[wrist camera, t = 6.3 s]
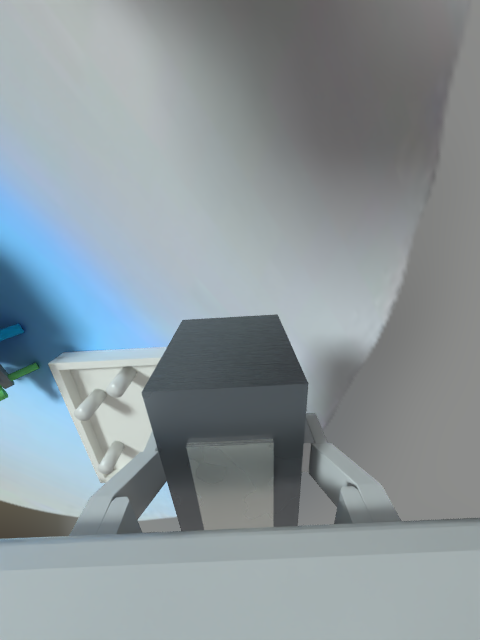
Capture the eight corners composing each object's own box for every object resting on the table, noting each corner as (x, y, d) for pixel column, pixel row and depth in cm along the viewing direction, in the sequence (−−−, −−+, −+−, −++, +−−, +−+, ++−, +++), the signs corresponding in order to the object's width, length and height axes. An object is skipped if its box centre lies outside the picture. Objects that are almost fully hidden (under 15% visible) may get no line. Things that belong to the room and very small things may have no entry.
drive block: (182, 320, 11) (139, 396, 6) (277, 314, 11) (309, 387, 6) (206, 461, 15) (192, 575, 10) (276, 458, 15) (295, 571, 10)
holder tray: (63, 352, 24) (32, 374, 21) (193, 345, 24) (184, 366, 20) (109, 466, 31) (92, 498, 27) (210, 461, 31) (207, 493, 27)
